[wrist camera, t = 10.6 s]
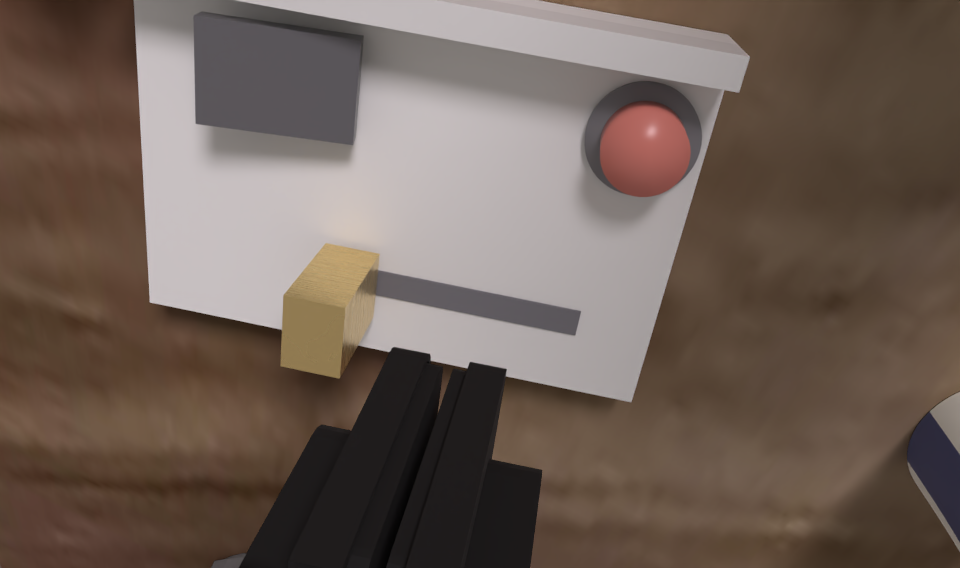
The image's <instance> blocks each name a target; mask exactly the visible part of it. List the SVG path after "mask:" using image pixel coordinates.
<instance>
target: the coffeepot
mask: <svg viewBox="0 0 960 568" xmlns="http://www.w3.org/2000/svg"><path fill="white" fill-rule="evenodd" d="M246 554H247V553H242V554H238V555H234V556H230V557H228V558H226V559H224V560H217V561H214V563H213V565H212V567H211V568H239V566H240V564H241V563H242V561H243V559H244V557H245V555H246Z"/></svg>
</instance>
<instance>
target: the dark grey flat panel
mask: <svg viewBox="0 0 960 568" xmlns="http://www.w3.org/2000/svg"><path fill="white" fill-rule="evenodd" d="M193 21H194V72H195V122H196V124H200V125H207V126H214V127H222V128H229V129H237V130H244V131H251V132H259V133H266V134H274V135H281V136H288V137H296V138H303V139H311V140H318V141H325V142H333V143H340V144H348V145H353V144H354V141H355V139H356V129H357V117H358V104H359V91H360V79H361V66H362V53H363V41H364V36H363V35H356V34H350V33H343V32H336V31H329V30H323V29H316V28H309V27H303V26H296V25H289V24H283V23H276V22H269V21H263V20H256V19H249V18H242V17H236V16H229V15H222V14H216V13H209V12H202V11H201V12H199V13H197V14H195V15H194V16H193Z"/></svg>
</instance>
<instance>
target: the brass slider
mask: <svg viewBox="0 0 960 568" xmlns="http://www.w3.org/2000/svg"><path fill="white" fill-rule="evenodd" d="M379 257H380V254H378V253H373V252H368V251H363V250H358V249H353V248H348V247H343V246H338V245H333V244H328V243H325V245H324V246H323V247H322V248H321V249H320V251H319V252H318V253H317V254H316V256H315V257H314V258H313V259H312V261H311V262H310V263H309V264H308V265H307V267H306V268H305V269H304V270H303V272H302V273H301V274H300V275H299V277H298V278H297V279H296V280H295V282H294V283H293V284H292V285H291V286H290V288H289V289H288V290H287V291H286V293H285V294H284V295H283V316H282V342H281V366H282V367H287V368H292V369H296V370H301V371H306V372H311V373H315V374H320V375H325V376H330V377H334V378H339V379H340V377H341V375H342V374H343V372H344V370H345V368H346V366H347V365H348V363H349V361H350V359H351V357H352V355H353V354H354V352H355V350H356V348H357V346H358V345H359V343H360V341H361V339H362V337H363V335H364V334H365V332H366V330H367V328H368V326H369V325H370V323H371V321H372V319H373V316H374V306H375V296H376V286H377V276H378V266H379Z"/></svg>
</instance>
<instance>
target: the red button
mask: <svg viewBox="0 0 960 568" xmlns="http://www.w3.org/2000/svg"><path fill="white" fill-rule="evenodd" d="M690 154H691V149H690V143H689V139H688V136H687V134H686V131H685V128H684V126H683V123H682V121H681V120H680V118H679V117H678V115H677V114H676V113H675V112H674V111H673V110H671V109H670V108H669V107H667V106H665V105H663V104H661V103H658V102H654V101H637V102H633V103H630V104H627V105H625V106H623V107H621V108H620V109H618V110H617V111H616V112H615V113H614V114H613V115H612V116H611V117H610V118H609V119H608V121H607V122H606V124H605V126H604V128H603V130H602V134H601V139H600V162H601V167H602V170H603V172H604V175H605V176H606V178H607V179H608V181H609V182H610V183H611V184H612V185H613V186H614V187H615V188H616V189H618V190H619V191H621V192H623V193H625V194H628V195H631V196H635V197H651V196H655V195H659V194H661V193H664V192H666V191H668V190H669V189H671V188H672V187H673V186H674V185H676V184H677V183H678V182H679V181H680V179H681V178H682V177H683V175H684V174H685V172H686V170H687V168H688V165H689V161H690Z"/></svg>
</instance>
